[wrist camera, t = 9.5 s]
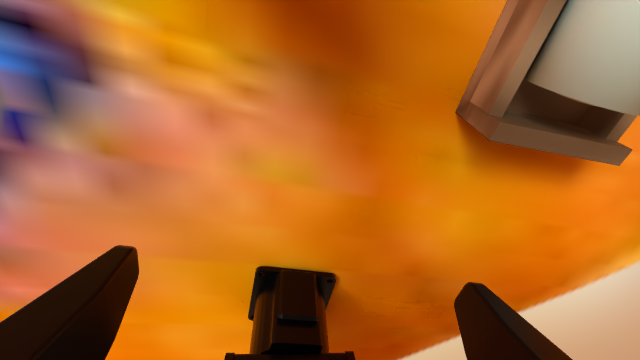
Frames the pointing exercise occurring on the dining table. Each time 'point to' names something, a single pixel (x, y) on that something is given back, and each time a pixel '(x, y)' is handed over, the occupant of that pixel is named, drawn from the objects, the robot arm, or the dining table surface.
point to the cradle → (535, 94)
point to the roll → (593, 55)
